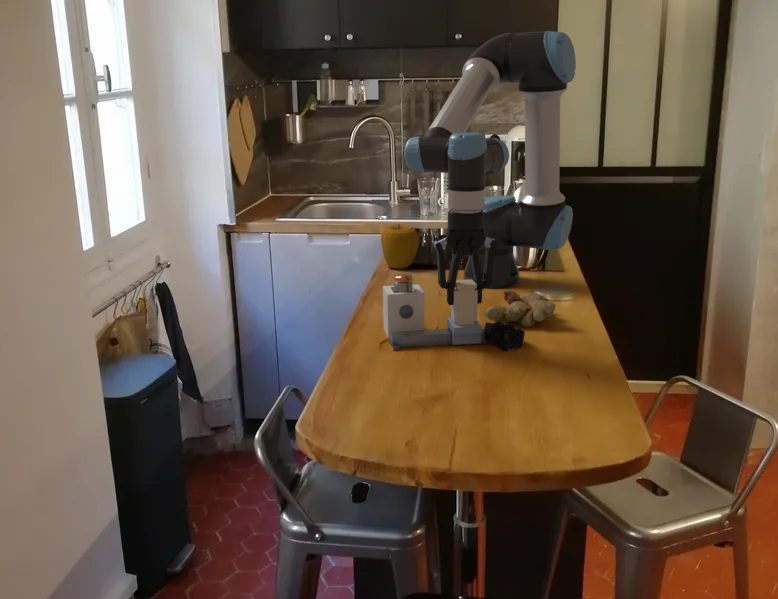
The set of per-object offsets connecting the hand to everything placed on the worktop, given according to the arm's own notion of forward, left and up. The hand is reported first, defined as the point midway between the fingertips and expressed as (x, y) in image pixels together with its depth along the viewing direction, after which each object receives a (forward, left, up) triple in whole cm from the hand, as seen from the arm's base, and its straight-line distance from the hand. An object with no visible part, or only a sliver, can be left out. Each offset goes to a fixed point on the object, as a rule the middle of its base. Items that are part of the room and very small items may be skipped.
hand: (464, 318), depth 168 cm
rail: (+6, 0, -5) cm, 8 cm away
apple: (+3, -68, -5) cm, 68 cm away
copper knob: (+12, -8, +2) cm, 14 cm away
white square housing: (+12, -8, -5) cm, 15 cm away
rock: (-8, +2, -6) cm, 10 cm away
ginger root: (-17, -12, -5) cm, 21 cm away
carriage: (0, 0, -5) cm, 5 cm away
